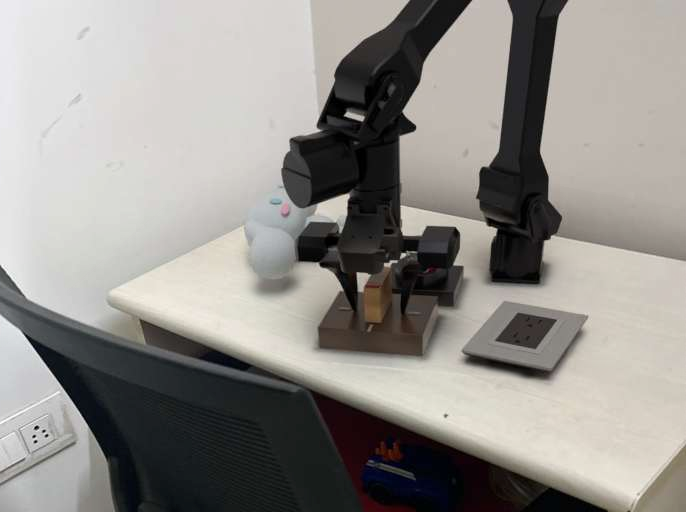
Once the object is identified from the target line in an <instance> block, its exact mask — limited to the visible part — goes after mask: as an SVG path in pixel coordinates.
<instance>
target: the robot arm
mask: <svg viewBox="0 0 686 512" xmlns="http://www.w3.org/2000/svg"><path fill="white" fill-rule="evenodd" d="M506 1H507V3H508V6H509V10H510V12H511V16H512V23H511V32H510V40H509V41H510V42H509V51H508V61H507V70H506V80H505V90H504V97H503V110H502V117H501V126H500V127H501V129H500V136H499V146H498V152H497V153H496V155H495V156H494V158H493V159H492V161H491V162H490V163H489V165H487V166H486V165H485V166H481V167H480V170H479V172H478V178H479V179H478V180H479V181H478V190H477V192H476V195H475V200H478V203H479V204H478V205H479V206H478V207H479V211H480V212H482V214H483V216H484V221H485V224H486V226H487V227H489V228H493V229H496V232H495V235H494V236H493V237H492V240H491V243H490V252H489V253H490V255H489V270H488V271H489V272H490V273H491V276H490V281H491V282H492V283H493V282H494V283H508V284H509V283H511V284H528V285H529V284H533V285H539V284H540V283H541V280H542V275H543V270H544V263H545V262H544V254H545V253H544V252H545V244H546V241H550V240H551V238H552V236H554V235H556V234H558V233H559V229H560V226H561V223H562V220H563V215H562V214H561V213H560V212H559V211H558V210H557V208H556V207H555V206H554V205H553V203H551V202H550V200H549V188H550V187H549V186H550V183H549V182H550V177H549V173H548V170H547V168H546V165H545V163H544V160H543V157H542V153H541V146H542V140H543V134H544V133H543V132H544V124H545V117H546V109H547V102H548V95H549V88H550V82H551V81H550V80H551V73H552V66H553V58H554V52H555V51H554V50H555V45H556V37H557V29H558V22H559V17H560V15H561V13H562V11H563V10H564V8H565V7H566V5H567V4H568V2H569V0H506ZM472 2H473V0H408V2H407V3H406V4H405V5H404V6H403V8H402V9H401V10H400V11H399V12H398V14H397V15H396V17H394V19H393V20H392V21H391V22H390V23H389V24H387V26H385V27H384V28H382V29H380V30H378V31H377V32H375V33H373V34H371V35H370V36H368V37H366V38H364V39H363V40H362V41H360V43H358V44H357V45H356V46H355V47H353V49H352V50H351V51H349V52H348V53H347V54H346V55H345V56H343V58H342V59H341V60H340V61H339V63H338V65H337V66H336V68H335V71H334V75H333V78H334V83H333V85H332V87H331V89H330V92H329V94H328V96H327V99H326V101H325V103H324V105H323V108H322V111H321V113H320V115H319V118H318V120H317V122H316V125H315V126H316V129H317V130H319V131H317V132H313V133H310V134H306V135H303V134H301V135H296V136H293V137H292V136H291V137H290V138H289V139H288V142H289V151H288V152H286V153H285V155H284V157H283V160H282V167H281V168H280V174H281V179H282V185H284V188H285V190H286V192H287V195H288V196H289V198H290V200H291V201H292V202H293V204H294V205H296V206H297V207H298V208H303V209H304V208H307V207H310V206H313V205H316V204H321V203H324V202H327V201H331V200H333V199H336V198H340V197H342V196H345V195H347V194H348V195H349V198H348V199H347V200H346V202H347V205H346V216H347V217H346V220H345V224H344V227H343V230H342V233H340V230H339V226H338V224H337V223H336V221H334V222H310V223H309V224H308V225H307V226H306V227H305V229H304V230H303V231H302V232H301V234H300V235H299V236H298V237H297V239H296V240H295V256H296V260H295V261H297V262H301V263H318V265H319V267H320V268H321V269H325V270H328V271H329V272H331V273H332V274H334V276H335V278H336V279H337V281H338V283H339V284H340V286H341V288H342V291H344V293H345V295H346V297H347V299H348V301H349V304H350V306H351V308H352V310H353V311H356V310H357V308H358V292H359V287H358V286H359V285H358V274H357V273H360V274H367V275H369V276H371V275H375V274H378V273H380V272H381V271H382V270H383V267H385V264H390V263H391V261H394V262H395V261H396V262H397V261H399V260H400V259H401V258H402V257H401V256H402V254H405V256H406V258H407V260H406V262H405V264H404V266H403V268H402V270H401V271H402V276H403V279H402V290H401V301H400V309H401V314H404V313H405V311H406V308H407V305H408V302H409V299H410V296H411V293H412V290H413V287H414V284H415V282H416V279H417V276H418V274H423V273H426V272H428V270H429V268H435V269H448V268H451V267H453V265H454V264H455V262H456V259H457V257H458V255H459V252H460V250H461V232H460V231H459V229H458V228H457V226H449V225H447V226H446V225H426V226H425V228H424V230H423V232H422V234H421V235H419V234H417V235H404V232H403V231H402V229H403V218H402V207H401V206H402V204H401V203H402V202H401V201H402V200H401V199H402V197H401V195H402V192H403V184H402V182H401V138H400V137H402V136H405V135H408V134H411V133H415V132H416V131H417V125H416V124H415V123H414V122H412V120H410V119H409V118H408V117H407V116H406V115H405V113H404V110H405V108H406V106H407V105H408V104H409V102H410V100H411V98H412V97H413V95H414V94H415V92H416V90H417V88H418V87H419V85H420V83H421V80H422V74H423V69H424V64H425V62H426V60H427V58H428V57H429V55H430V54H431V52H432V51H433V50H434V48H435V47H436V46H437V45H438V44H439V43H440V41H441V40H442V39H443V37H444V36H445V35H446V34H447V33H448V31H449V30H450V29H451V28H452V27H453V25H454V24H455V23H456V22H457V20H458V19H459V18H460V16H461V15H462V14H463V13H464V12H465V10H467V8H468V7H469V6H470V4H471V3H472ZM347 113H349V114H353V115H357V116H361V117H364V118H363V120H360V119H356V118H352V117H349V116H345V115H346V114H347Z"/></svg>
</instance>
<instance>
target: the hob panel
mask: <svg viewBox="0 0 686 512" xmlns="http://www.w3.org/2000/svg"><path fill="white" fill-rule="evenodd" d="M400 301H401V294H392V302H391V304H390V306H389V308H388V310H387V312H386V314H385V316H384V318H383V320H382V322H381V323H373V322H365V310H364V291H358V308H357V310H356V311H353V310H352V308H351V306H350V304H349V301H348V299H347V297H346V295H345V293H344V290H340V291H338V294H337V295H336V296H335V298H334V300H333V302H332V303H331V304H330V306H329V308H328V310H327V311H326V313H325V315H324V316H323V318H322V319H321V321H320V323H319V324H318V326H317V334H318V345H319V349H324V350H335V351H346V352H347V351H349V352H360V353H361V352H362V353H374V354H385V355H397V356H399V355H400V356H411V357H423V356H424V354H425V351H426V349H427V346H428V344H429V342H430V338H431V336H432V334H433V331H434V328H435V325H436V323H437V320H438V318H439V306H438V296H421V295H411V296H410V299H409V302H408V305H407V308H406V311H405V313H404V314H401V309H400Z"/></svg>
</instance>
